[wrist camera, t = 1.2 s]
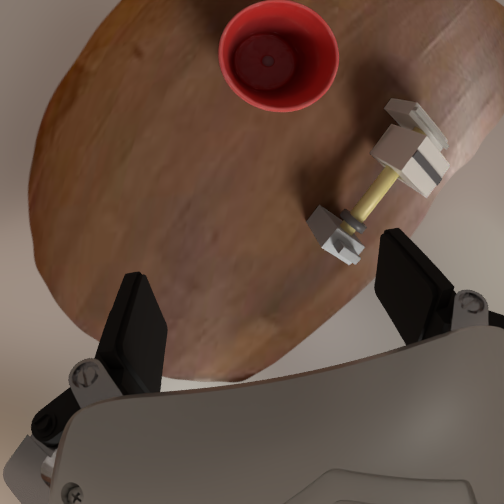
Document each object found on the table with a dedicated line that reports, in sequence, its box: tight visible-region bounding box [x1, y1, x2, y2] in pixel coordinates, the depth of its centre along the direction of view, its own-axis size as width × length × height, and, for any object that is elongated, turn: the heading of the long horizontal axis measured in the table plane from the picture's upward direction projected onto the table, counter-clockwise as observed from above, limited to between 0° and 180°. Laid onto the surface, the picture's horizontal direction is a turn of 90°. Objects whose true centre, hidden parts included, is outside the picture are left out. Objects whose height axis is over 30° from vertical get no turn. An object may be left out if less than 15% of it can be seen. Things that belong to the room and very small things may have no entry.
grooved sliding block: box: [370, 124, 450, 198], centre depth 30 cm, size 5×5×8 cm
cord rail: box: [306, 98, 449, 265], centre depth 33 cm, size 21×7×9 cm, turn 146°
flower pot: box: [218, 0, 339, 112], centre depth 25 cm, size 11×11×10 cm
